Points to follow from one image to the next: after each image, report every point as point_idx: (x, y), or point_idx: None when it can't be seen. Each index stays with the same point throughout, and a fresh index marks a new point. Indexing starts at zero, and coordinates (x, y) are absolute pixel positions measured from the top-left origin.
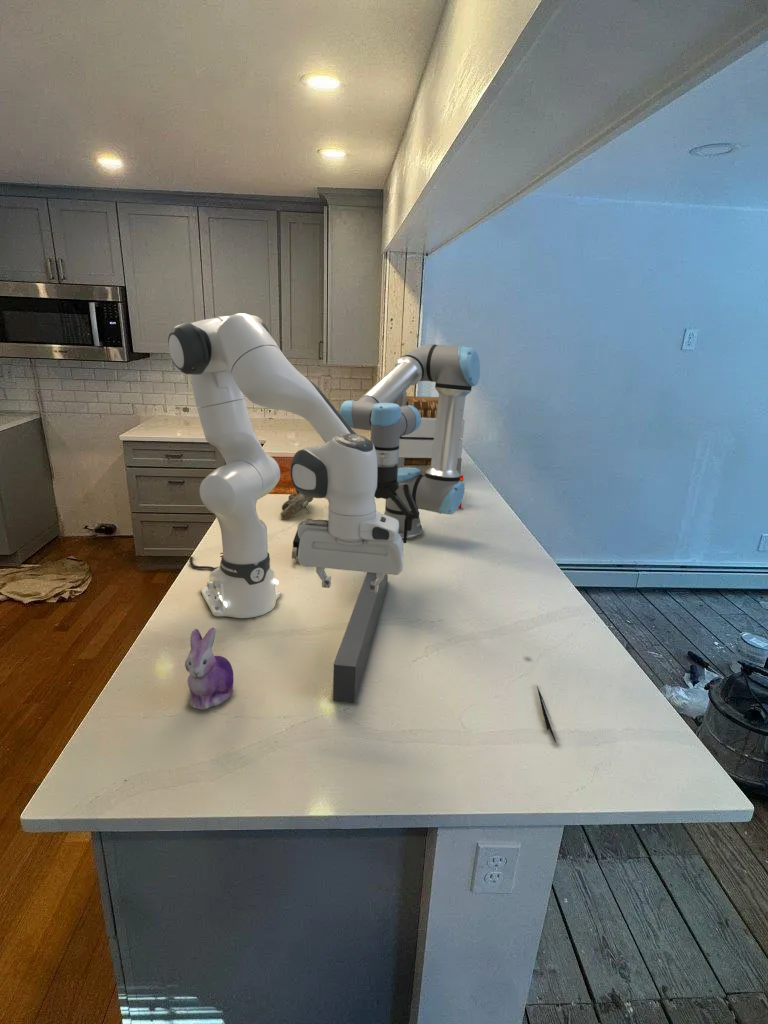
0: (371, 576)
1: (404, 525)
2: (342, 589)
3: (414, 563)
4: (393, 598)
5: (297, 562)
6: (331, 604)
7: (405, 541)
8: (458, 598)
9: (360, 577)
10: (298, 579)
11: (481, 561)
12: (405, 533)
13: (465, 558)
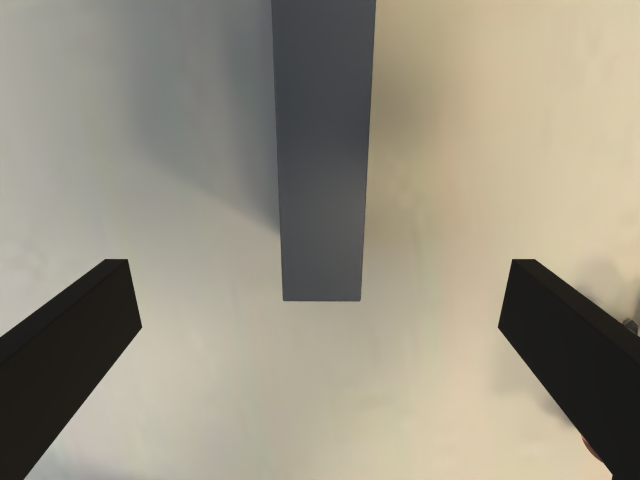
0: (338, 17)
1: (3, 362)
2: (455, 160)
3: (225, 393)
4: (250, 127)
5: (633, 322)
6: (494, 18)
7: (103, 266)
8: (13, 179)
9: (395, 266)
10: (628, 206)
11: None
12: (58, 303)
13: (75, 450)
